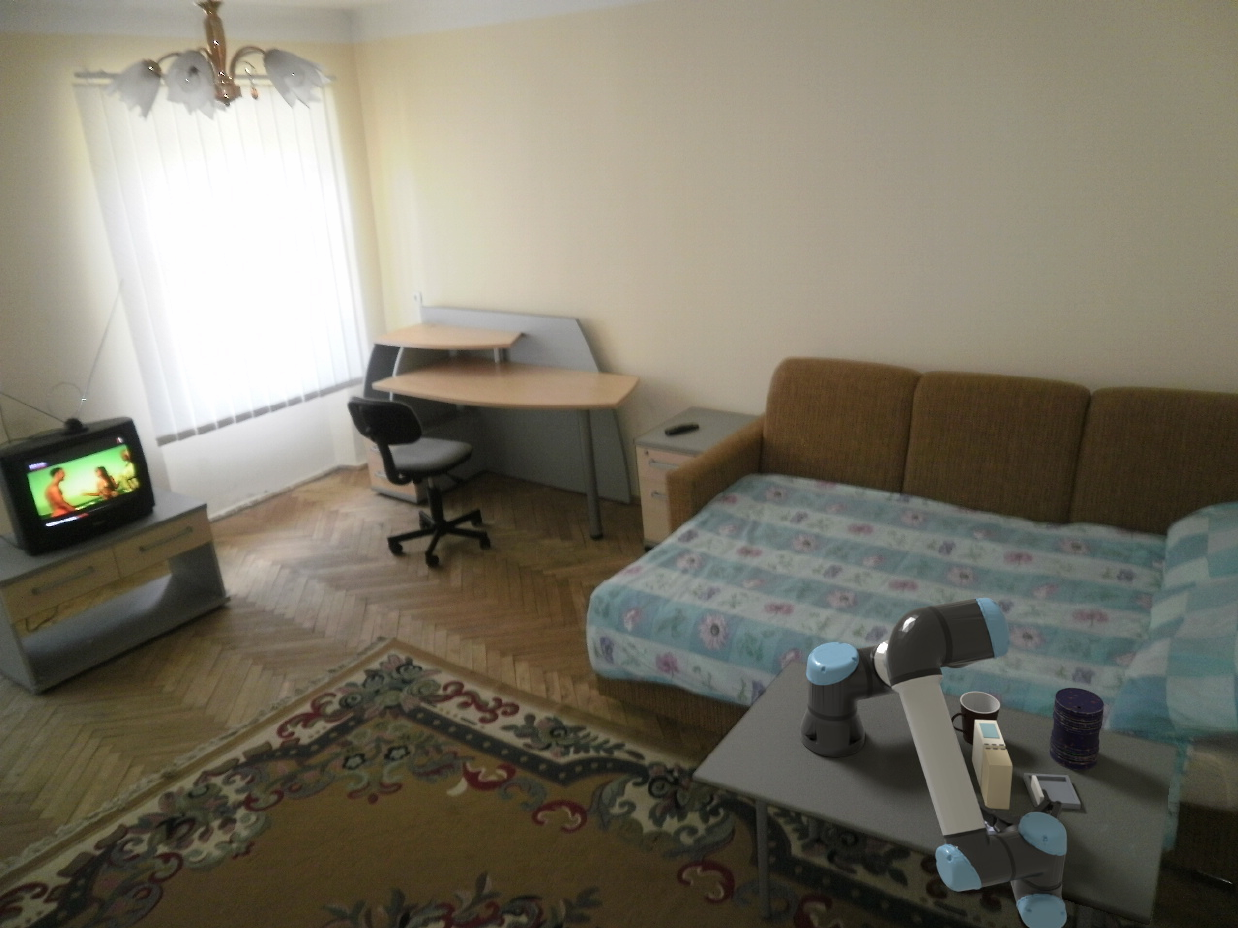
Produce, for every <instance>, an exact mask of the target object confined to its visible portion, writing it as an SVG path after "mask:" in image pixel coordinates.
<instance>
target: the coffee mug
mask: <svg viewBox="0 0 1238 928" xmlns="http://www.w3.org/2000/svg"><path fill="white" fill-rule="evenodd" d="M959 703H960V712H957V713H956V714H954V715H952V717H950V718H951V721H952V724H953V727H954V730H955V731H957V732H961V733H962V739H963V741H965V743H967V744H968V745H970V746H973V739H974V725H975V720H993V721H997V722H998V718H999V717H998V716H999V713H1000V707H1001V702H1000V701H999V699H997V697H995V696H993V695H991V694H989V693H986V692H982V691H969V692H965V693H963V694H962V695H960V698H959ZM959 716H960V717H961V728H962V729H961V728H959V727H956V726H954V721H955V719H956V718H957V717H959Z"/></svg>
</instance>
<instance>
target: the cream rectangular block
mask: <svg viewBox="0 0 1238 928" xmlns="http://www.w3.org/2000/svg"><path fill="white" fill-rule="evenodd" d="M1012 779H1013V762H1012V760H1011V757H1010V755H1009V753H1008V749H1006V747H1005V748H1001V749H998V748H993V749H990V748H984V756H983V770H982V783H981V787H980V792H981V794H982V798H983V801H984V805H985V806H987V807H988V808H990V809H991V810H993V809H995V810H996V809H997V810H1010V802H1011V801H1010V800H1011V791H1012V789H1011V787H1012Z"/></svg>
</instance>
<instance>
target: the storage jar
mask: <svg viewBox="0 0 1238 928" xmlns="http://www.w3.org/2000/svg"><path fill="white" fill-rule="evenodd" d="M1054 695H1055V696H1054V703H1053V708H1052V709H1053V712H1052V716H1053V726H1052V730H1051V732H1050V733H1051V734H1050V740H1049V746H1050V747H1049V756H1050V757H1051V759H1052V760H1053V761H1054V762H1055V763H1057V764H1058V765H1060V766H1061V767H1063V768H1066V769H1068V770H1074V771H1081V772H1082V771H1089V770H1092V769H1093V768H1095V767H1096V766H1097V763H1098V757H1099V754H1100V731H1101V729H1102V726H1103V720H1104V707H1105V703H1104V701H1103V699H1102V698H1101V697H1100V696H1099V695H1098V694H1096V693H1095V692H1092V691H1090V690H1087V689H1083V688H1079V687H1078V688H1077V687H1066V688H1065V687H1064V688H1062V689H1059V690H1058V691H1056V693H1055V694H1054Z"/></svg>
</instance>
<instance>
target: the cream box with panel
mask: <svg viewBox="0 0 1238 928" xmlns="http://www.w3.org/2000/svg"><path fill="white" fill-rule="evenodd" d="M1004 741H1005V740H1004V738H1003V735H1002V733H1001V730H1000V727H999V725H998V720H997V721H993V720H975V725H974V739H973V745H972V753H971V755H972V756H971V762H972V765H973V768H974V772H975V775H976V778H977V782H978V785H979V788H981V783H982V770H983V756H984V748H990V749H993V748H998V749H1001V748H1005V749H1006V743H1005V742H1004Z"/></svg>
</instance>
